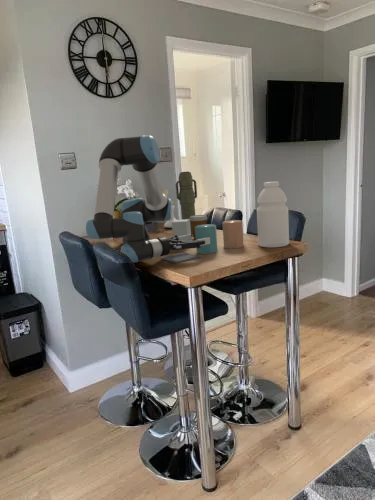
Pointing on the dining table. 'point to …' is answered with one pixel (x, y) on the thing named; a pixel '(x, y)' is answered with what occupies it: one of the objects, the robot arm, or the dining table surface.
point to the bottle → (272, 217)
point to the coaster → (180, 257)
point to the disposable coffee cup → (197, 222)
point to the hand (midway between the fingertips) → (199, 238)
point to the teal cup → (206, 232)
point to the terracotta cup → (233, 234)
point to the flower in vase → (169, 223)
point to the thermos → (186, 195)
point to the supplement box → (181, 227)
